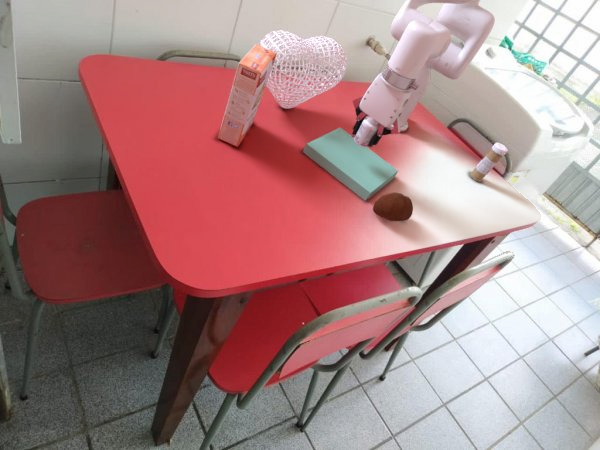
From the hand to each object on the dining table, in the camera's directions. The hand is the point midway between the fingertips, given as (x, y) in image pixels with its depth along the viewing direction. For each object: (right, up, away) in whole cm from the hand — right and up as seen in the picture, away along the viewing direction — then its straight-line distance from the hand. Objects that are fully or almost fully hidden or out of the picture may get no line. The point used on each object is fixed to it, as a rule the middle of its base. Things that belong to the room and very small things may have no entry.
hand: (363, 138), depth 108 cm
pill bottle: (0, -1, +1) cm, 1 cm away
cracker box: (-34, +2, -1) cm, 34 cm away
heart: (-21, +13, +17) cm, 30 cm away
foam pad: (-3, -6, +7) cm, 10 cm away
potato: (+6, -21, -3) cm, 22 cm away
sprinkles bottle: (+43, -7, +30) cm, 53 cm away
